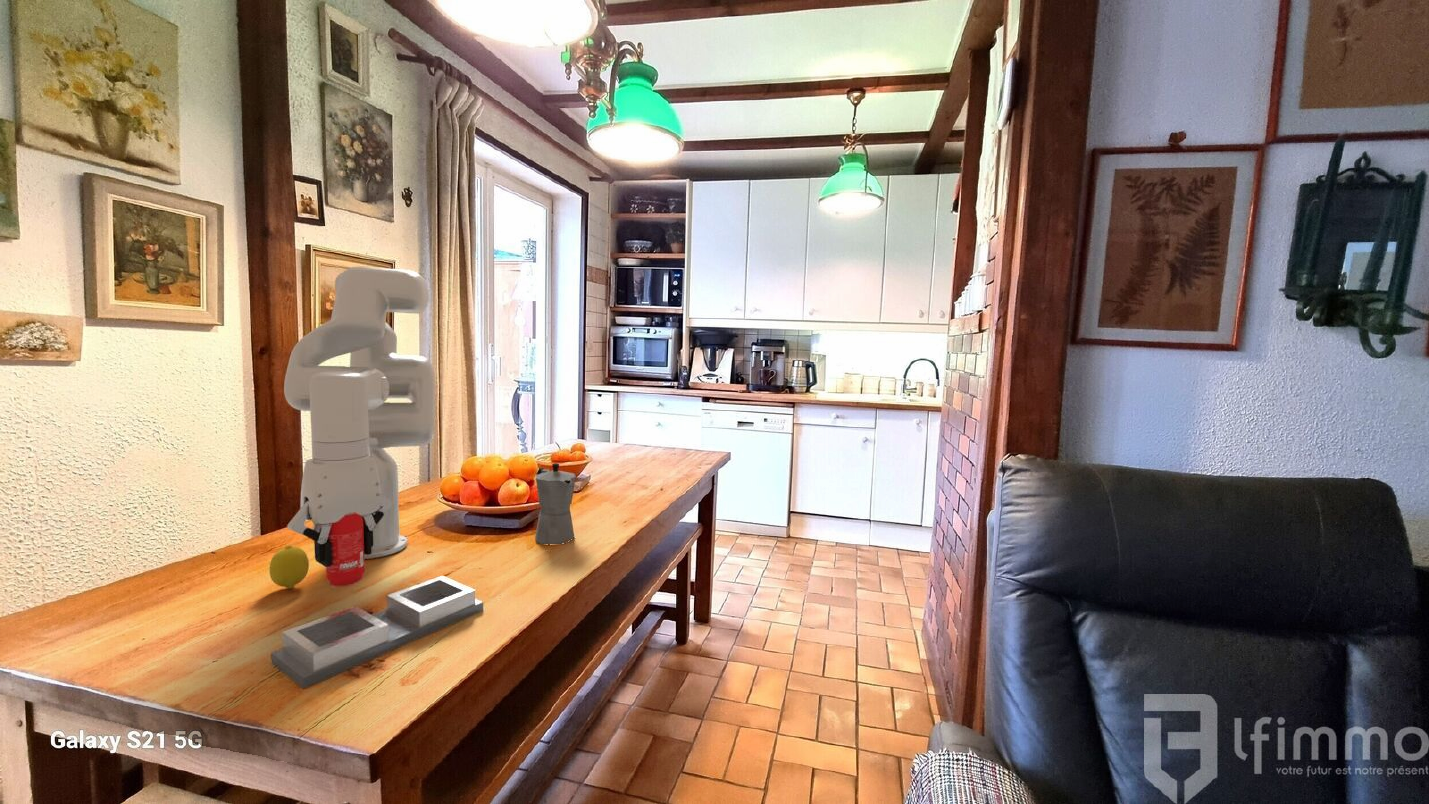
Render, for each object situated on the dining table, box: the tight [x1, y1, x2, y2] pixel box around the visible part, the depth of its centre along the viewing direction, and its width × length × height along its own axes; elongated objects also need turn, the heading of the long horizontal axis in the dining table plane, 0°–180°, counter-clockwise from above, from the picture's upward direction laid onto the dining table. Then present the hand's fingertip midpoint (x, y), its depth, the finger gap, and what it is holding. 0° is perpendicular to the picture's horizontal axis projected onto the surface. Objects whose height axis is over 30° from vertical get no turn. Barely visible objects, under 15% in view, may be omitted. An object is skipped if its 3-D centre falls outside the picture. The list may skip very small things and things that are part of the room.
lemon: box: [269, 544, 310, 590], centre depth 96 cm, size 6×6×8 cm
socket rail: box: [270, 575, 484, 690], centre depth 83 cm, size 10×26×4 cm, turn 148°
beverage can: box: [325, 512, 366, 588], centre depth 88 cm, size 5×5×12 cm
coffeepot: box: [534, 462, 577, 546], centre depth 126 cm, size 15×9×18 cm, turn 44°
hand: (345, 557), depth 88 cm, fingers closed on beverage can, 5 cm apart
